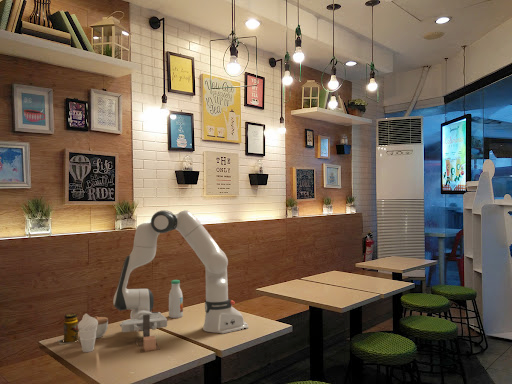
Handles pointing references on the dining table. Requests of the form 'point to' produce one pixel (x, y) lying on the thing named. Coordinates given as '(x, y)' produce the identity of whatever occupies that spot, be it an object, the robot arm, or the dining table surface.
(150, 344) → the terracotta block
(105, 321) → the lidded jar
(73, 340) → the condiment
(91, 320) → the soft serve ice cream cone
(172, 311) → the milk bottle
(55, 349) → the dining table surface
